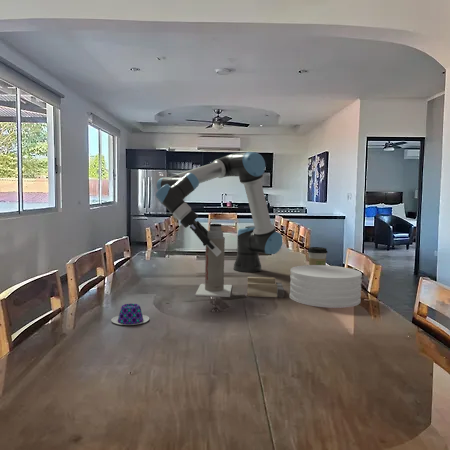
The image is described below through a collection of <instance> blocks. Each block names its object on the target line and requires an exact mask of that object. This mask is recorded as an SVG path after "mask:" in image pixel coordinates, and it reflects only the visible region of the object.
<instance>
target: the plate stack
mask: <svg viewBox="0 0 450 450" xmlns="http://www.w3.org/2000/svg"><path fill="white" fill-rule="evenodd" d="M362 277H363V274H362V272H361V271H359V270H357V269H354V268H349V267H344V266H337V265H326V264H325V265H309V264H305V265H304V264H303V265H297V266H293V267H291V268H290V275H289V278H290V281H289V285H290V286H289V299H291V300H292V301H294V302H297V303H299V304H303V305H306V306H311V307H312V306H313V307H317V308H318V307H319V308H331V309H333V308H334V309H340V308H341V309H342V308H352V307H356V306H358V305H360V304H361V297H362V280H363V279H362Z"/></svg>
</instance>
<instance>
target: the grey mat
mask: <svg viewBox="0 0 450 450" xmlns="http://www.w3.org/2000/svg"><path fill="white" fill-rule="evenodd" d="M232 286H233V285H232V284H224V290H222V291H207V290H205V283H200V284H199V286H198V289H197V290H196V292H195V297H215V298H216V297H218V298H221V297H222V298H231V292H232Z"/></svg>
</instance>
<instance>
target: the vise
mask: <svg viewBox="0 0 450 450" xmlns="http://www.w3.org/2000/svg"><path fill="white" fill-rule="evenodd" d="M246 291H247V292H246V293H247V296H246V297H259V298H260V297H261V298H262V297H263V298H285V289H284V285H283V283H282V282H277V281H276V277H265V276H264V277H262V276H261V277H260V276H258V277H257V276H247V289H246Z"/></svg>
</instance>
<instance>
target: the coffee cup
mask: <svg viewBox="0 0 450 450" xmlns="http://www.w3.org/2000/svg"><path fill="white" fill-rule="evenodd" d="M307 252H308V265H326V262H327V254H328V253H329V252H328V249H327V248H326V247H323V246H322V247H318V246H310V247H309V248H308V249H307Z"/></svg>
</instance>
